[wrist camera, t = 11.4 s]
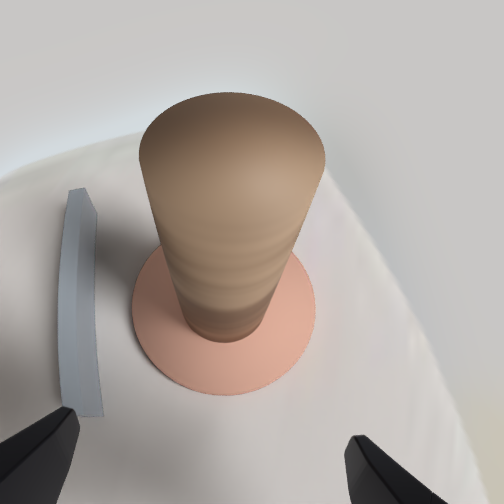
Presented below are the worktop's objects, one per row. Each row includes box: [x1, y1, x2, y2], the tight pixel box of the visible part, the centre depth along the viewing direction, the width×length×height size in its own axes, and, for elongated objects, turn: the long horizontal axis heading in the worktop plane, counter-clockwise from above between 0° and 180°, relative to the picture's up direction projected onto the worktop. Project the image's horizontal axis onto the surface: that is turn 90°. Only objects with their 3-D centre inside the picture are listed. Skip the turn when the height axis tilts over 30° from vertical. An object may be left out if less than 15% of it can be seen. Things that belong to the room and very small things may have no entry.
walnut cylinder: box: [139, 92, 325, 343], centre depth 13 cm, size 5×5×12 cm
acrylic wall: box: [58, 188, 104, 417], centre depth 17 cm, size 14×1×3 cm, turn 12°
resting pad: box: [132, 245, 316, 395], centre depth 19 cm, size 11×11×1 cm
